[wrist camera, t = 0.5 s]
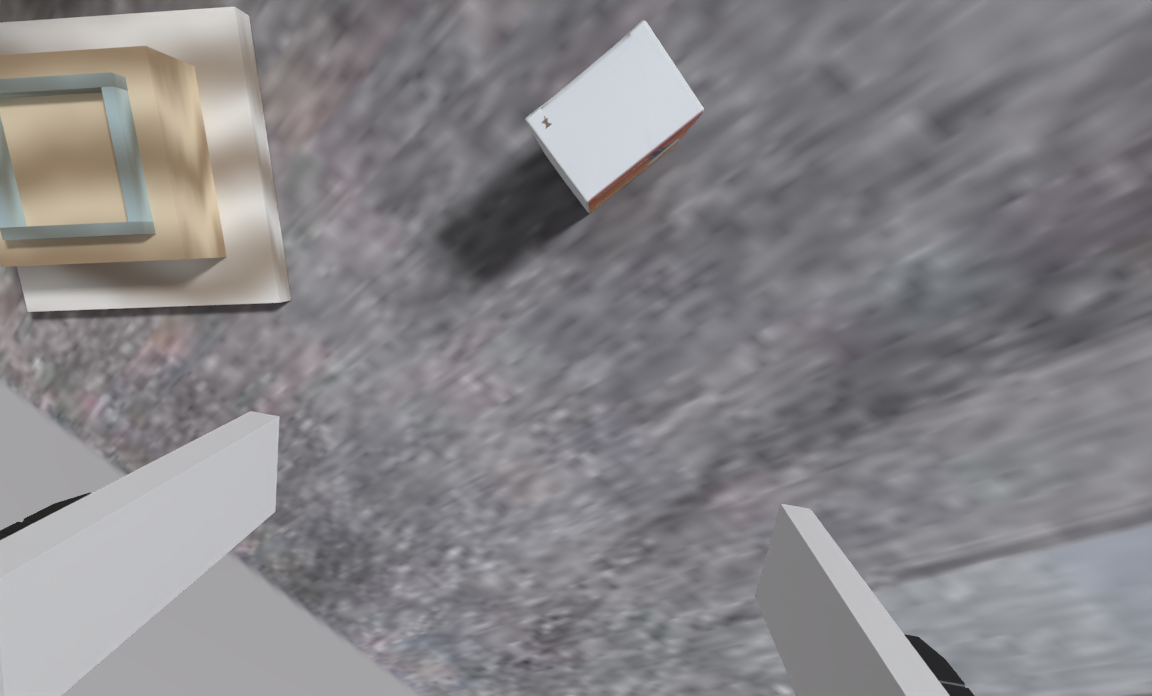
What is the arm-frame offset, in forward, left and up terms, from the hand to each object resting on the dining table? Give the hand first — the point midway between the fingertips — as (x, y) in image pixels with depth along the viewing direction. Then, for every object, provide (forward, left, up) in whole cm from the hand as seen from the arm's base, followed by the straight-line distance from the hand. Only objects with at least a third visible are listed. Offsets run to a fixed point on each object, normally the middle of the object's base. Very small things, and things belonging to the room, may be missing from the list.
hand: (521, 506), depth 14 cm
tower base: (-13, -32, -28) cm, 44 cm away
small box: (-13, +3, -28) cm, 31 cm away
